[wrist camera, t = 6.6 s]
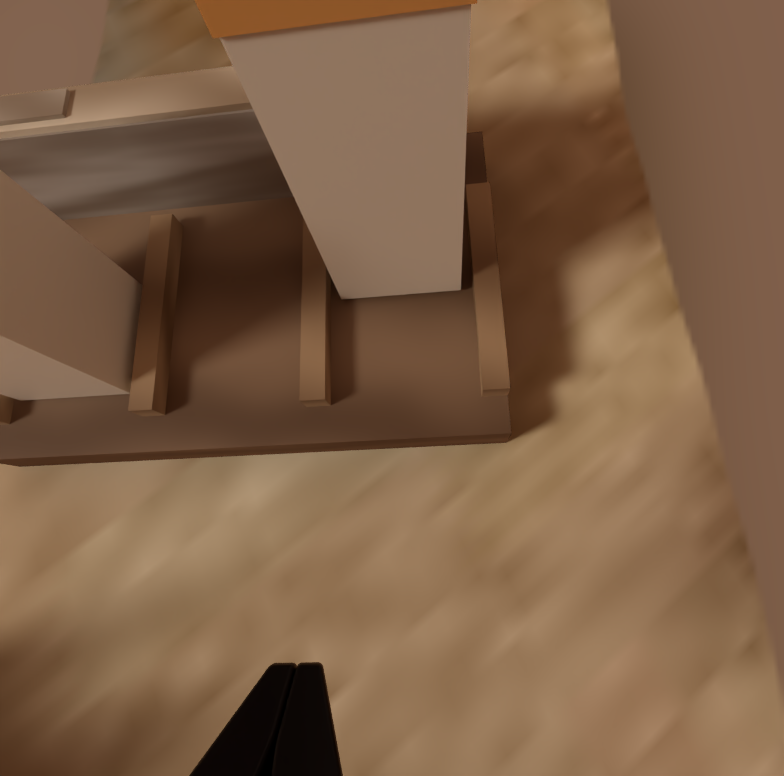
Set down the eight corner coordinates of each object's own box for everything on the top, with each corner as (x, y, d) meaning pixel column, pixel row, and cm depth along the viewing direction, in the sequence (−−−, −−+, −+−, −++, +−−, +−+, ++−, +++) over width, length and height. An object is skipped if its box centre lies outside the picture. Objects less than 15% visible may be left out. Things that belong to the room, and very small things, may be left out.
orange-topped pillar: (463, 292, 21) (478, -43, 9) (339, 301, 22) (193, -2, 9) (455, 184, 23) (458, -229, 10) (338, 196, 23) (212, -185, 11)
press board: (506, 442, 21) (533, 395, 14) (19, 466, 24) (-169, 435, 16) (479, 162, 25) (490, 14, 18) (65, 204, 28) (-71, 87, 20)
